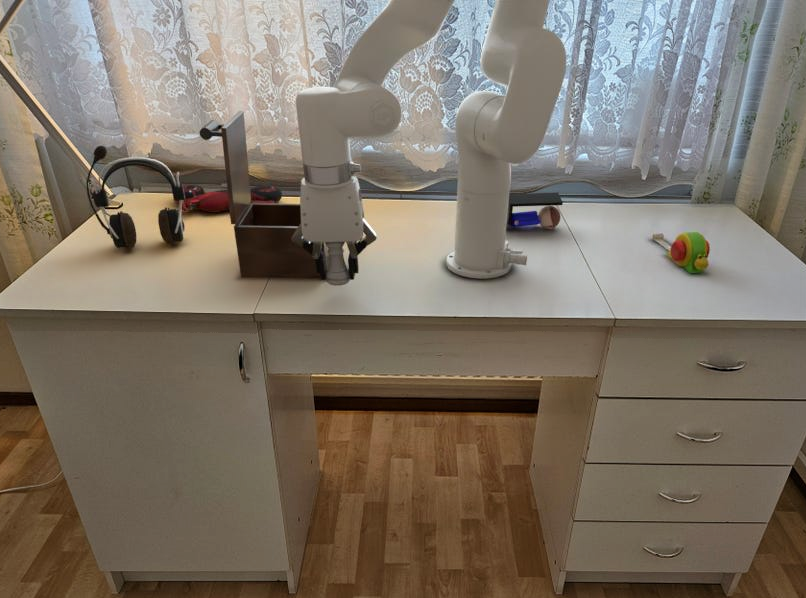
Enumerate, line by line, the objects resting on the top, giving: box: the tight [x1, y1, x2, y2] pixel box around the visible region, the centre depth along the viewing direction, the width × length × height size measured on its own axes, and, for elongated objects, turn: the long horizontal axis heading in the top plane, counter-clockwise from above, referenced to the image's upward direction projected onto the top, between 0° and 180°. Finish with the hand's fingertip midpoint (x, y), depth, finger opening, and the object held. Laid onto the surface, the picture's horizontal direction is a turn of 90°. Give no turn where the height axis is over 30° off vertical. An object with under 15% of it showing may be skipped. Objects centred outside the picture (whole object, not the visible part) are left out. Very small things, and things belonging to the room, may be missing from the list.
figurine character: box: [506, 192, 563, 230], centre depth 143 cm, size 7×8×15 cm
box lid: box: [199, 110, 251, 225], centre depth 116 cm, size 16×13×5 cm
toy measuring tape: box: [651, 231, 711, 274], centre depth 131 cm, size 6×20×7 cm, turn 9°
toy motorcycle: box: [175, 184, 283, 213], centre depth 150 cm, size 25×5×16 cm
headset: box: [85, 145, 186, 251], centre depth 126 cm, size 17×8×20 cm, turn 110°
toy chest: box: [233, 202, 329, 280], centre depth 124 cm, size 16×13×10 cm
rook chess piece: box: [325, 242, 352, 287], centre depth 112 cm, size 4×4×8 cm
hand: (338, 275), depth 114 cm, fingers closed on rook chess piece, 4 cm apart
